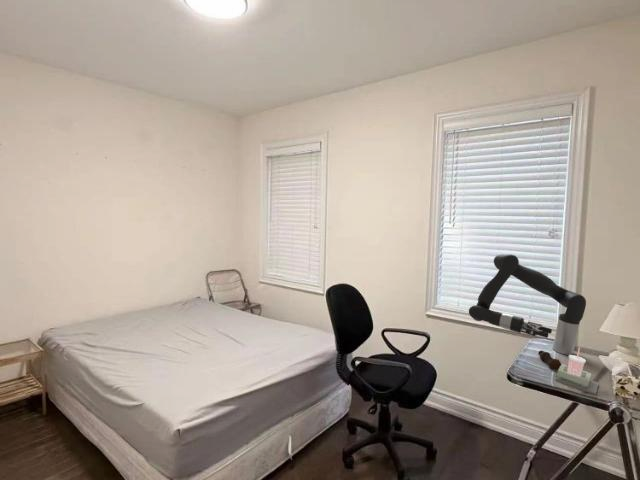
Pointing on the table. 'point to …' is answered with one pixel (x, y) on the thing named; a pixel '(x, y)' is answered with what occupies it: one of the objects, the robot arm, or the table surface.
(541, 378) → the table surface
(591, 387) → the pale green square tray
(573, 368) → the beverage cup
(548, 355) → the bolt
